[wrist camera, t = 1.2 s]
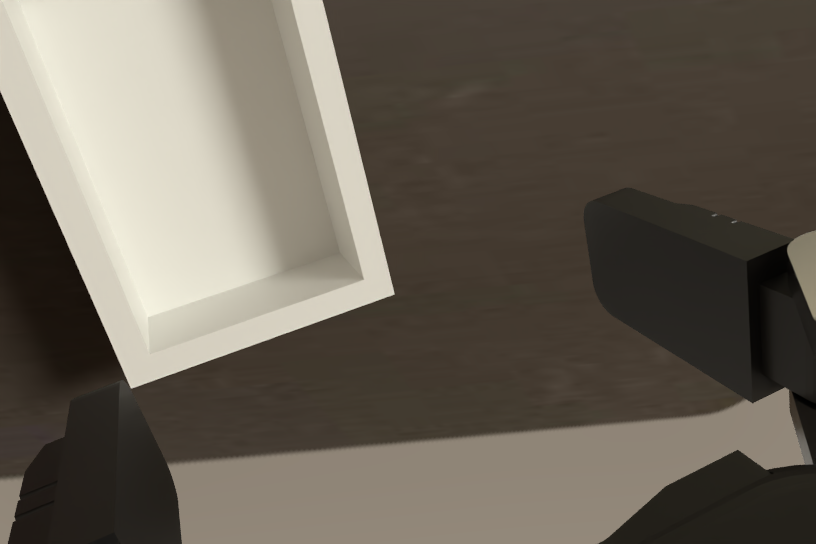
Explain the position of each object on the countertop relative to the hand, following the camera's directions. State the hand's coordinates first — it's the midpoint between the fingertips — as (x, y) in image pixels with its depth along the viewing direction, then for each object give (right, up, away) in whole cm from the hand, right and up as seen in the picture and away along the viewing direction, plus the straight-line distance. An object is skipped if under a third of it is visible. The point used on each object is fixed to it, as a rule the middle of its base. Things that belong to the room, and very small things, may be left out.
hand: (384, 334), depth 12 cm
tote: (-9, +8, +20) cm, 24 cm away
